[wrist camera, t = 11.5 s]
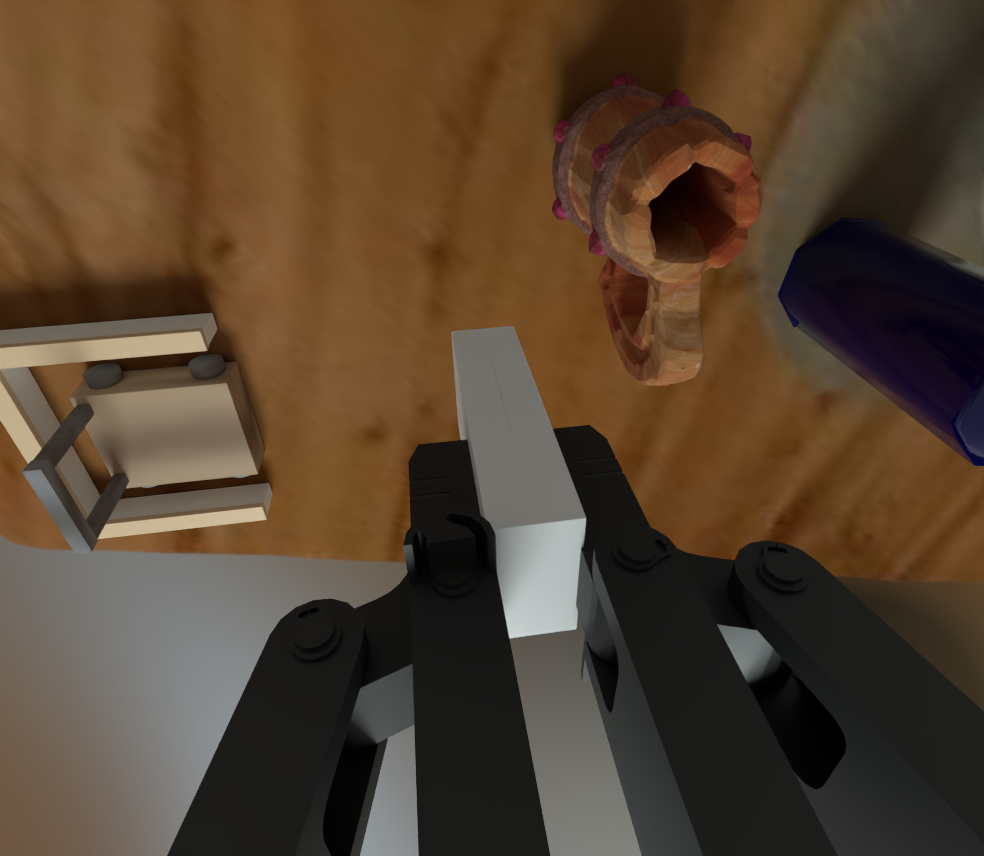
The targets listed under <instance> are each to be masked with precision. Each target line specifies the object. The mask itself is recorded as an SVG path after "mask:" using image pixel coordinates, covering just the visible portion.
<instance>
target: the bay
mask: <svg viewBox="0 0 984 856" xmlns="http://www.w3.org/2000/svg"><path fill="white" fill-rule="evenodd" d="M217 329H218V328H217V325H216V322H215V319H214V316H213V313H204V314H192V315H180V316H168V317H155V318H143V319H131V320H119V321H106V322H94V323H82V324H70V325H57V326H45V327H33V328H21V329H8V330H0V420H1V422H2V423H3V425H4V427H5V428H6V430H7V431H8V433H9V434H10V436H11V438H12V439H13V441H14V442H15V444H16V445H17V447H18V449H19V450H20V452H21V453H22V455H23V456H24V458H25V460H26V461H27V463H28V464H29V462H30V461H32V460H33V459H34V458H35V457H36V456H37V454H38V453H39V452H40V451H41V449H42V448H43V447H44V446H45V444H46V443H47V442H48V441H49V439H50V438H51V437H52V436H53V434H54V433H55V432H56V431H57V429H58V428H59V427H60V426H61V425H60V423H59V421H58V420H57V418H56V416H55V414H54V413H53V411H52V409H51V407H50V405H49V404H48V402H47V400H46V398H45V397H44V395H43V393H42V391H41V390H40V388H39V386H38V384H37V382H36V381H35V379H34V377H33V375H32V374H31V372H30V370H29V368H28V367H29V366H40V365H52V364H63V363H74V362H86V361H97V360H109V359H120V358H132V357H143V356H154V355H166V354H177V353H189V352H200V351H207V350H208V348H209V344H210V342H211V340H212V339H213V337H214V335H215V333H216V331H217ZM55 469H56V471H57V473H58V474H59V476H60V478H61V479H62V481H63V483H64V484H65V486H66V488H67V489H68V491H69V493H70V494H71V496H72V498H73V499H74V501H75V503H76V504H77V506H78V508H79V509H80V511H81V512H82V514H83V516H84V517H85V519H87V518H88V516H89V514H90V513H91V511H92V509H93V508H94V506H95V504H96V503H97V501H98V499H99V498H100V494H99V492H98V490H97V488H96V487H95V485H94V483H93V481H92V480H91V478H90V476H89V474H88V473H87V471H86V469H85V467H84V466H83V464H82V462H81V460H80V458H79V457H78V455H77V453H76V451H75V450H74V448H73V446H72V445H71V447H70V448H69V449H68V451H67V452H66V453H65V455H64V456H63V458H62V459H61V460H60V462H59V463H58V464H57V466H56V467H55ZM272 494H273V493H272V490H271V487H270V484H269V483H263V484H254V485H245V486H236V487H226V488H217V489H208V490H199V491H190V492H180V493H171V494H162V495H153V496H144V497H135V498H125V499H119V501H118V503H117V505H116V506H115V508H114V510H113V512H112V514H111V515H110V517H109V519H108V521H107V523H106V524H105V526H104V528H103V530H102V532H101V533H100V535H99V537H98V539H102V538H111V537H120V536H129V535H137V534H146V533H155V532H164V531H172V530H181V529H190V528H198V527H207V526H216V525H225V524H233V523H242V522H251V521H259V520H267V516H268V515H267V514H268V510H269V506H270V502H271V498H272Z"/></svg>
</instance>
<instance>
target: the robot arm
mask: <svg viewBox="0 0 984 856" xmlns="http://www.w3.org/2000/svg"><path fill="white" fill-rule="evenodd" d="M451 334H452V347H453V360H454V373H455V386H456V399H457V413H458V425H459V432H460V438H461V440H458V441H448V442H439V443H429V444H420V445H418V446H417V448H416V450H415V452H414V453H413V455H412V457H411V459H410V460H409V482H410V484H409V485H410V513H411V528H410V529H409V530H408V531H407V532H406V537H405V541H404V545H403V547H404V553H405V559H406V565H407V570H408V573H407V575H406V576H405V578H404V579H403V580H402V581H401V583H400V584H399V585H398V586H397V587H395V588H394V589H393V590H392V591H390V592H389V593H388V594H386V595H384V596H382V597H380V598H378V599H376V600H374V601H371V602H369V603H367V604H364V605H362V606H360V607H357V608H355V609H354V608H353V607H352V606H351V605H349V604H348V603H346V602H342V601H339V600H335V599H322V600H313V601H311V602H308V603H306V604H303V605H301V606H298V607H296V608H295V609H293V610H292V611H291V612H290V613H288V614H287V615H286V616H284V617H283V618H282V619H281V620H280V621H279V622H278V624H277V625H276V627H275V628H274V630H273V631H272V633H271V634H270V636H269V638H268V640H267V642H266V645H265V647H264V649H263V651H262V653H261V655H260V657H259V660H258V662H257V664H256V666H255V668H254V671H253V672H252V675H251V677H250V679H249V681H248V683H247V685H246V687H245V690H244V692H243V694H242V696H241V698H240V701H239V703H238V705H237V707H236V709H235V711H234V713H233V715H232V718H231V720H230V722H229V724H228V727H227V728H226V731H225V733H224V735H223V737H222V739H221V741H220V743H219V745H218V748H217V750H216V752H215V754H214V756H213V758H212V761H211V763H210V765H209V767H208V769H207V771H206V773H205V776H204V778H203V780H202V782H201V784H200V786H199V789H198V791H197V793H196V795H195V797H194V799H193V801H192V804H191V806H190V808H189V810H188V812H187V814H186V816H185V819H184V821H183V823H182V825H181V827H180V829H179V831H178V834H177V836H176V838H175V840H174V842H173V844H172V846H171V849H170V851H169V853H168V855H167V856H360V852H361V848H362V844H363V840H364V835H365V832H366V827H367V823H368V819H369V815H370V811H371V806H372V802H373V798H374V794H375V790H376V786H377V782H378V777H379V773H380V769H381V765H382V761H383V756H384V752H385V748H386V744H387V740H388V737H390V736H392V735H394V734H396V733H398V732H400V731H402V730H404V729H406V728H408V727H410V726H412V725H414V726H415V754H416V755H415V756H416V785H417V816H418V845H419V856H550V852H549V847H548V841H547V836H546V831H545V826H544V820H543V815H542V809H541V804H540V799H539V793H538V788H537V783H536V778H535V772H534V767H533V762H532V756H531V751H530V746H529V740H528V735H527V730H526V725H525V720H524V714H523V708H522V703H521V698H520V692H519V687H518V682H517V676H516V672H515V666H514V660H513V655H512V650H511V645H510V639H509V638H516V637H522V636H530V635H537V634H544V633H551V632H559V631H566V630H573V629H576V626H577V616H578V613H579V617H580V620H581V623H582V627H583V629H584V633H585V638H584V647H583V657H582V666H581V680H582V684H585V683H588V679H589V676H590V679H591V683H592V686H593V689H594V693H595V696H596V700H597V703H598V707H599V710H600V713H601V717H602V720H603V723H604V727H605V730H606V734H607V737H608V741H609V744H610V747H611V751H612V755H613V758H614V762H615V765H616V768H617V772H618V775H619V778H620V782H621V786H622V789H623V792H624V796H625V799H626V803H627V806H628V810H629V813H630V816H631V820H632V823H633V826H634V830H635V834H636V837H637V840H638V844H639V847H640V851H641V854H642V856H984V712H983V711H982V710H981V709H980V708H979V707H978V706H977V705H976V704H975V703H973V702H972V701H971V700H970V699H969V698H968V697H967V696H966V695H965V694H964V693H962V692H961V691H960V690H959V689H958V688H957V687H956V686H955V685H954V684H952V683H951V682H950V681H949V680H948V679H947V678H946V677H945V676H944V675H943V674H941V673H940V672H939V671H938V670H937V669H936V668H935V667H934V666H933V665H931V664H930V663H929V662H928V661H927V660H926V659H925V658H923V656H921V655H920V654H919V653H918V652H917V651H916V650H915V649H914V648H913V647H911V646H910V645H909V644H908V643H907V642H906V641H905V640H904V639H903V638H902V637H900V636H899V635H898V634H897V633H896V632H895V631H894V630H893V629H892V628H890V627H889V626H888V625H887V624H886V623H885V622H884V621H882V619H881V618H879V617H878V616H877V615H876V614H875V613H874V612H873V611H872V610H870V609H869V608H868V607H867V606H866V605H865V604H864V603H863V602H862V601H861V600H859V599H858V598H857V597H856V596H855V595H854V594H853V593H852V592H851V591H849V590H848V589H847V588H846V587H845V586H844V585H843V584H842V583H841V582H840V581H838V580H837V579H836V578H835V577H834V576H833V575H832V574H831V573H830V572H828V571H827V570H826V569H825V568H824V567H823V566H822V565H821V564H820V563H818V562H817V561H816V560H815V559H813V558H812V557H811V556H809V555H808V554H806V553H805V552H803V551H802V550H800V549H798V548H795V547H793V546H790V545H787V544H785V543H781V542H773V541H760V542H753V543H750V544H748V545H746V546H745V547H743V548H742V549H740V550H739V552H738V554H737V556H736V558H735V560H728V559H720V558H713V557H706V556H699V555H695V554H690V553H686V552H684V551H681V550H679V549H677V548H676V546H675V545H674V544H673V543H672V541H671V540H670V539H669V538H668V537H666V536H665V535H663V534H662V533H660V532H659V531H657V530H655V529H652V528H651V527H650V525H649V523H648V521H647V519H646V517H645V515H644V513H643V511H642V509H641V507H640V505H639V503H638V501H637V499H636V497H635V495H634V493H633V491H632V489H631V487H630V485H629V483H628V481H627V479H626V477H625V475H624V473H623V474H622V469H621V467H620V465H619V463H618V461H617V459H615V455H614V453H613V451H612V449H611V447H610V445H609V443H608V441H607V439H606V438H605V437H604V436H602V435H601V434H600V433H599V432H598V431H596V430H595V429H594V428H593V427H591V426H590V425H585V426H575V427H566V428H556V429H552V426H551V423H550V421H549V418H548V416H547V413H546V410H545V408H544V405H543V402H542V400H541V397H540V394H539V392H538V389H537V387H536V384H535V381H534V379H533V376H532V373H531V371H530V368H529V365H528V363H527V360H526V357H525V355H524V352H523V350H522V347H521V344H520V342H519V339H518V336H517V334H516V331H515V328H514V326H508V327H496V328H485V329H474V330H462V331H451Z"/></svg>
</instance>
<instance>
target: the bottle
mask: <svg viewBox="0 0 984 856" xmlns="http://www.w3.org/2000/svg"><path fill="white" fill-rule="evenodd" d="M778 297H779V299H780V301H781V303H782V305H783V307H784V309H785V311H786V313H787V315H788V317H789V319H790V321H791V323H792V325H793V327H798V328H799V329H800V330H801V331H803V332H804V333H805V334H807V335H808V336H809V337H810V338H812V339H813V340H814V341H815V342H817V343H818V344H819V345H821V346H822V347H823V348H824V349H826V350H827V351H828V352H830V353H831V354H832V355H833V356H835V357H836V358H837V359H838V360H840V361H841V362H842V363H844V364H845V365H846V366H847V367H849V368H850V369H851V370H852V371H854V372H855V373H856V374H858V375H859V376H860V377H861V378H863V379H864V380H865V381H867V382H868V383H869V384H870V385H872V386H873V387H874V388H875V389H877V390H878V391H879V392H881V393H882V394H883V395H884V396H886V397H887V398H888V399H889V400H891V401H892V402H893V403H895V404H896V405H897V406H898V407H900V408H901V409H902V410H903V411H905V412H906V413H907V414H909V415H910V416H911V417H912V418H914V419H915V420H916V421H918V422H919V423H920V424H921V425H923V426H924V427H925V428H926V429H928V430H929V431H930V432H932V433H933V434H934V435H935V436H937V437H938V438H939V439H940V440H942V441H943V442H944V443H946V444H947V445H948V446H949V447H951V448H952V449H953V450H955V451H956V452H957V453H958V454H960V455H961V456H962V457H964V458H965V459H966V460H967V461H969V462H970V463H971V464H973V465H974V466H984V268H982V267H979V266H977V265H975V264H973V263H970V262H968V261H966V260H964V259H961V258H959V257H957V256H955V255H952V254H950V253H948V252H946V251H944V250H941V249H939V248H937V247H935V246H932V245H930V244H928V243H926V242H923V241H921V240H919V239H917V238H914V237H912V236H910V235H908V234H906V233H903V232H901V231H899V230H897V229H894V228H892V227H890V226H888V225H886V224H885V222H883V221H872V220H861V219H849V218H841V219H839V220H838V221H837V222H835V223H834V224H832V225H831V226H830V227H828V228H827V229H825V230H824V231H823V232H821V233H820V234H818V235H817V236H815V237H814V238H813V239H811V240H810V241H808V242H807V243H806V244H804V245H803V246H801V247H800V248H799V249H797V250H796V252H795V255H794V257H793V259H792V262H791V264H790V267H789V269H788V272H787V274H786V276H785V279H784V281H783V284H782V286H781V289H780V291H779V293H778Z"/></svg>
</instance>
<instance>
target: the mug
mask: <svg viewBox="0 0 984 856" xmlns="http://www.w3.org/2000/svg"><path fill="white" fill-rule="evenodd" d="M554 137H555V139H556V141H557V144H556V149H555V153H554V157H553V171H552V172H553V183H554V189H555V193H556V197H557V199H556V200H555V202H554V204H553V207H552V212H553V214H554V215H555V217H556V218H557V219H560V220H566V219H567V218H569V219H570V220H571V222H572V223H574V224H575V225H576V226H577V227H578V228H579V229H581V230H582V231H584V232H585V233H586V234H588V235H590V237H589V252H592V253H594V254H597V255H604V254H606V255H608V256H609V258H608V260H607V263H606V264H605V266H604V268H603V270H602V272H601V274H600V277H599V279H598V282H599V285H600V288H601V291H602V294H603V300H604V305H605V309H606V314H607V318H608V322H609V326H610V330H611V333H612V337H613V341H614V343H615V345H616V347H617V350H618V352H619V355H620V358H621V360H622V362H623V364H624V366H625V368H626V369H627V371H628V373H630V374H631V375H632V376H633V378H634V379H636V380H637V381H639V382H640V383H642V384H644V385H647V386H651V385H656V386H661V385H670V384H672V383H678V382H682V381H686V380H689V379H691V378H694V377H695V376H696V374H697V372H698V371H699V369H700V367H701V366H702V361H703V354H704V345H703V336H702V328H701V320H700V313H699V309H700V292H701V284H702V276H703V273H704V272H705V271H706V270H708V269H709V268H711V267H713V268H720V267H723V266H725V265H727V264H728V263H729V262H730V261H731V260H732V259H733V258H734V257H735V256H736V255H737V254H738V253H739V252H740V251H741V250H742V249H743V248H744V245H745V243H746V241H747V239H748V237H747V228H748V227H749V226H750V225H751V224H752V223H753V222H754V221H755V220H756V219H757V218H758V216H759V214H760V209H761V204H762V197H761V194H760V191H759V186H760V183H761V181H760V179H759V178H758V177H757V176H756V175H754V174H753V172H752V167H753V164H754V163H753V160H752V157H751V155H750V153H749V151H750V149H751V137H750V136H748V135H744V134H741V133H733V131H732V130H731V128H730V127H729V126H728V125H727V124H726V123H724V122H723V121H722V120H721V119H720V118H718V117H716V116H715V115H713V114H711V113H709V112H708V111H704V110H701V109H698V108H695V107H691V103H690V100H689V98H688V97H687V96H686V94H685V93H684V92H681V91H678V90H674V91H673V92H672V93H671V94H670V95H669V96H668V97H667V98H666V99H664V98H663V97H661V96H659V95H658V94H656V93H654V92H653V91H650V90H646V89H643V88H640V87H636V83H635V80H634V77H633V76H632V75H631V74H630V73H627V72H625V73H619V74H618V75H617V76H616V77H615V79H614V81H613V82H612V84H611V88H609V89H607V90H604V91H602V92H600V93H598V94H596V95H595V96H593V97H591V98H590V99H588V100H586V101H585V102H584V103H583V104H582V105H581V106H580V107H579V108H578V109H577V110H576V111H575V112H574V114H573V115H572V116H571V117H570V119H569V120H563V121H560V122H559V124H558V125H557V126H556V128H555V129H554Z"/></svg>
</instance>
